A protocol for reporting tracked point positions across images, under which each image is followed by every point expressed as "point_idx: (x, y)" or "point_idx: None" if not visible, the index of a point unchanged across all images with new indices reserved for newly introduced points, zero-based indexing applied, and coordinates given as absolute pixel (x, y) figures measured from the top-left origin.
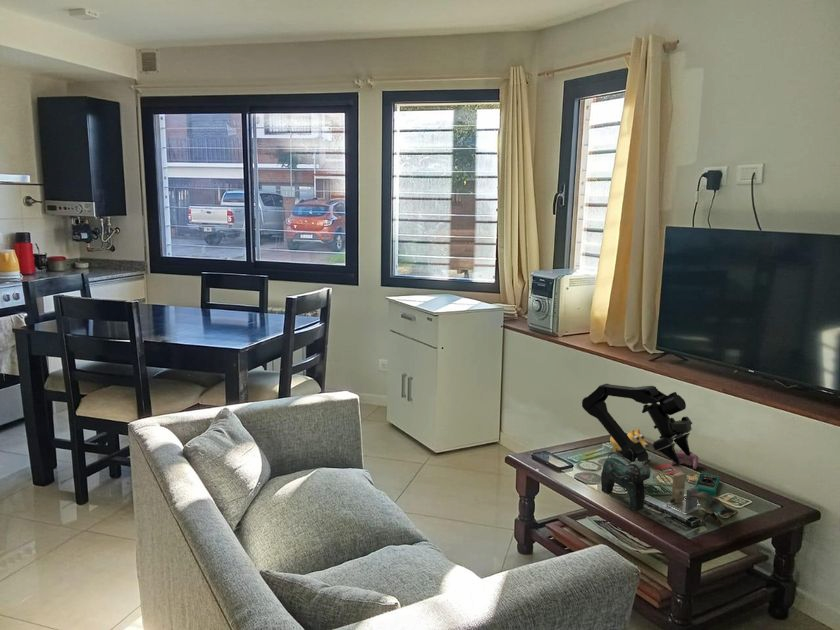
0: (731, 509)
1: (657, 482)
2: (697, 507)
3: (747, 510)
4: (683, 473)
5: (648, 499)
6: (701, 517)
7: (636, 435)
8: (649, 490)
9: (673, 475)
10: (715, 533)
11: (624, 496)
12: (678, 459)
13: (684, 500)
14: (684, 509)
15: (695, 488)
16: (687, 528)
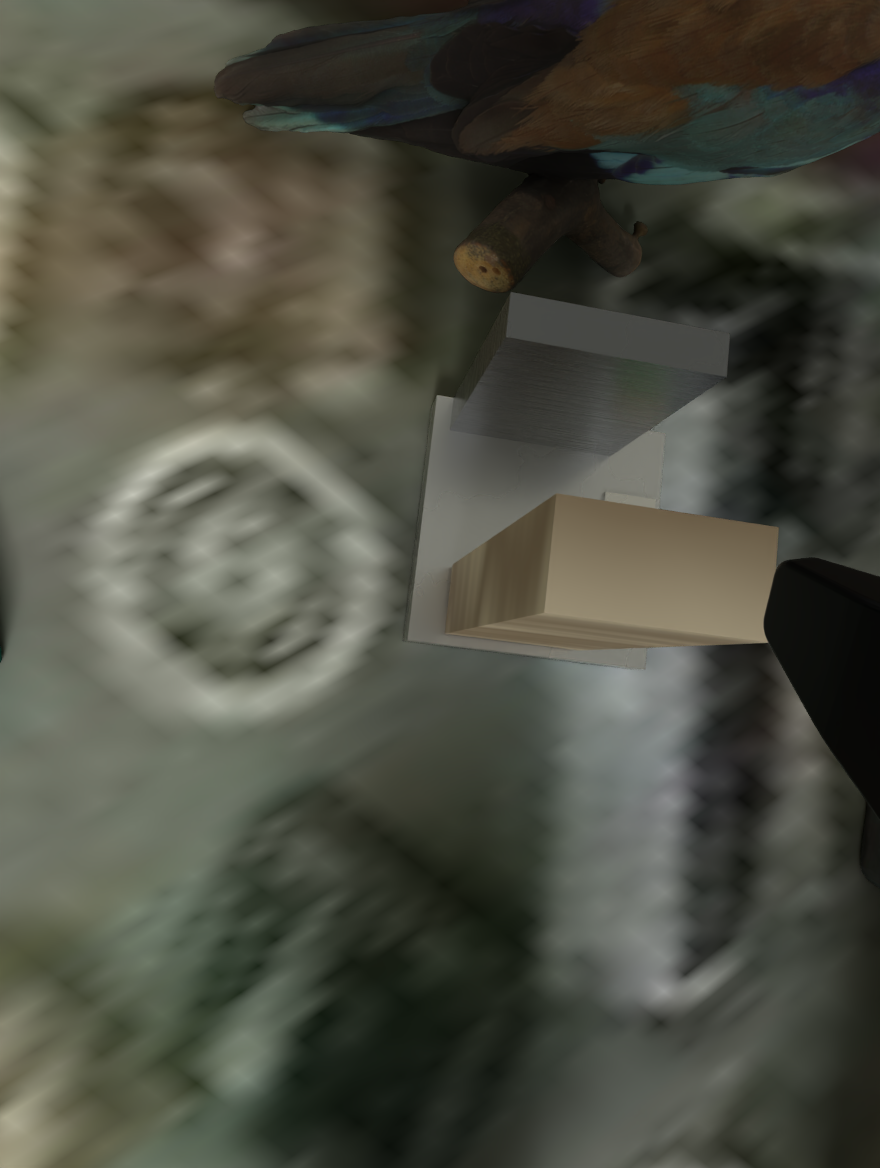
0: (293, 48)
1: (110, 1138)
2: (442, 399)
3: (6, 25)
4: (573, 532)
5: (639, 894)
6: (631, 264)
7: None
8: (420, 1041)
9: (757, 639)
10: None
11: (788, 1115)
12: (875, 590)
13: (423, 568)
14: (625, 458)
15: (572, 313)
16: (857, 300)
